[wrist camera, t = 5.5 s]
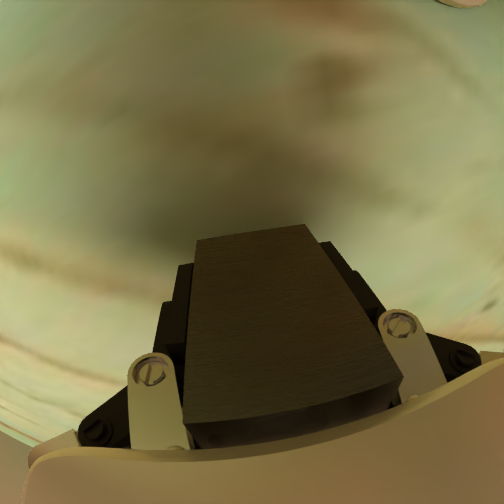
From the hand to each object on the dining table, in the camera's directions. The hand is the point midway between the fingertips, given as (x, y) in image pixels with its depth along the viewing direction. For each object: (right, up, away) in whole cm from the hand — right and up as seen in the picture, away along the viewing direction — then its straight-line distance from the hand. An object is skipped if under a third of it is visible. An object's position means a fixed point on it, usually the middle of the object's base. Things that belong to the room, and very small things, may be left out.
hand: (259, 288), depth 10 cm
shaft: (+1, -8, +6) cm, 10 cm away
